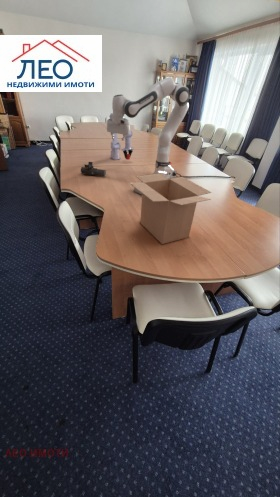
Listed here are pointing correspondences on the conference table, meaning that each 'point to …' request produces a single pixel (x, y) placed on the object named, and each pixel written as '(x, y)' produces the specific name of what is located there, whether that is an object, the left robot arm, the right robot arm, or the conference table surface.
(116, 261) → the conference table surface
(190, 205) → the box
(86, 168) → the laser sight
